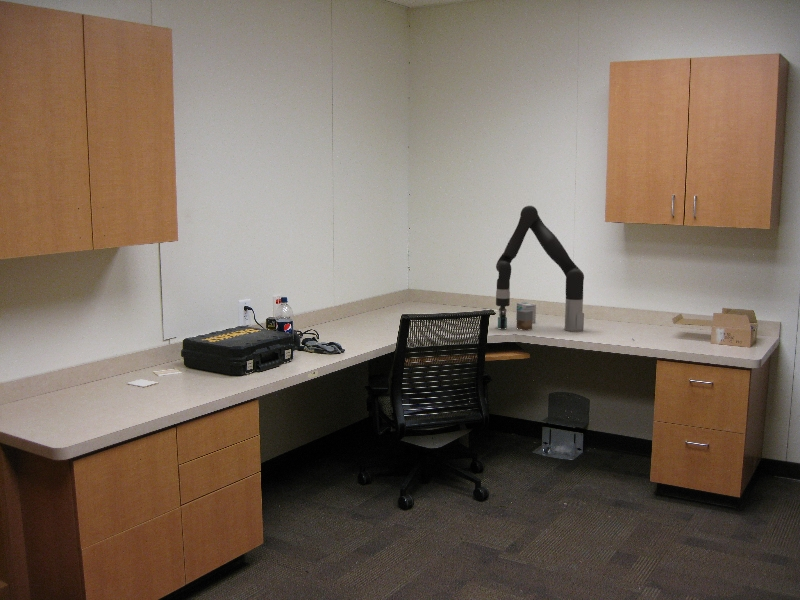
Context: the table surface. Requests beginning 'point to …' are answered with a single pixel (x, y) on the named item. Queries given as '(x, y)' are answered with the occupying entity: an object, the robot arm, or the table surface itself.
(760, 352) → the table surface
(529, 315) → the grey top block
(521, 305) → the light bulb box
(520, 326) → the walnut base block
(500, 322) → the teal cylinder
